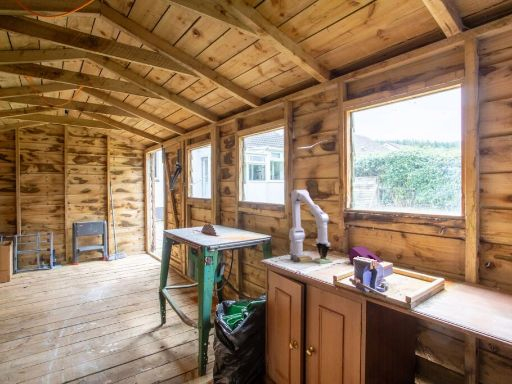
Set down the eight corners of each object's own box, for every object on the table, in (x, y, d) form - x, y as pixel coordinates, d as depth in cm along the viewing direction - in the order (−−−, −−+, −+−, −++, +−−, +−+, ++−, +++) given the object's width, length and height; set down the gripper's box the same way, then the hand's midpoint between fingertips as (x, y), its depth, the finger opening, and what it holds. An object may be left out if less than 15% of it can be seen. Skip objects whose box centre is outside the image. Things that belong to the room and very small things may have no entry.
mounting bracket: (381, 276, 165) (358, 257, 179) (387, 264, 162) (363, 245, 176) (370, 279, 160) (347, 259, 174) (375, 267, 157) (351, 247, 171)
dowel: (319, 258, 179) (319, 248, 179) (324, 257, 180) (323, 247, 180) (322, 259, 176) (321, 249, 176) (326, 258, 177) (326, 248, 176)
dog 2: (292, 261, 180) (292, 254, 180) (297, 261, 181) (297, 254, 181) (294, 262, 177) (294, 256, 177) (299, 262, 178) (299, 255, 178)
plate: (295, 260, 186) (294, 256, 186) (306, 258, 188) (306, 255, 188) (300, 262, 178) (300, 259, 178) (312, 261, 181) (312, 257, 181)
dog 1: (289, 259, 185) (289, 253, 185) (294, 259, 186) (294, 252, 186) (291, 260, 182) (291, 254, 182) (296, 260, 183) (295, 253, 183)
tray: (314, 260, 180) (313, 258, 180) (325, 259, 183) (325, 257, 183) (320, 264, 173) (320, 261, 173) (332, 262, 175) (332, 260, 175)
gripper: (310, 232, 183) (311, 254, 183) (322, 235, 169) (323, 259, 170) (321, 231, 185) (321, 253, 185) (333, 235, 171) (333, 258, 172)
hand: (323, 256), depth 178 cm, fingers closed on dowel, 3 cm apart
